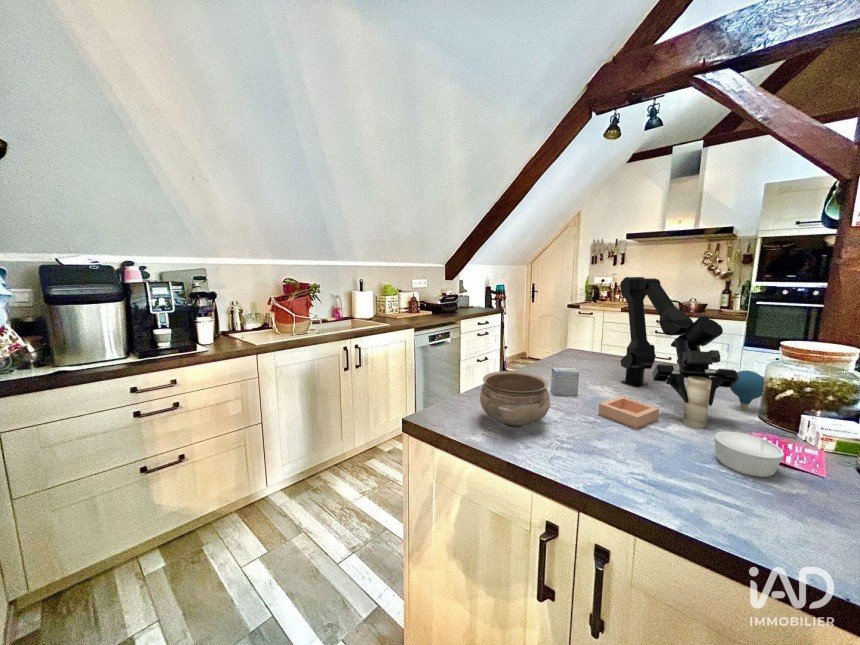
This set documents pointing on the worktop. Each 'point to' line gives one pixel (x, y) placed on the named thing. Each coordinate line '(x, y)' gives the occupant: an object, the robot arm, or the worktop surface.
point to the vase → (697, 402)
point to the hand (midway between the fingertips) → (698, 403)
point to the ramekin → (747, 453)
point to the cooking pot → (515, 397)
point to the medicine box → (564, 381)
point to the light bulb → (748, 387)
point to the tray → (628, 412)
